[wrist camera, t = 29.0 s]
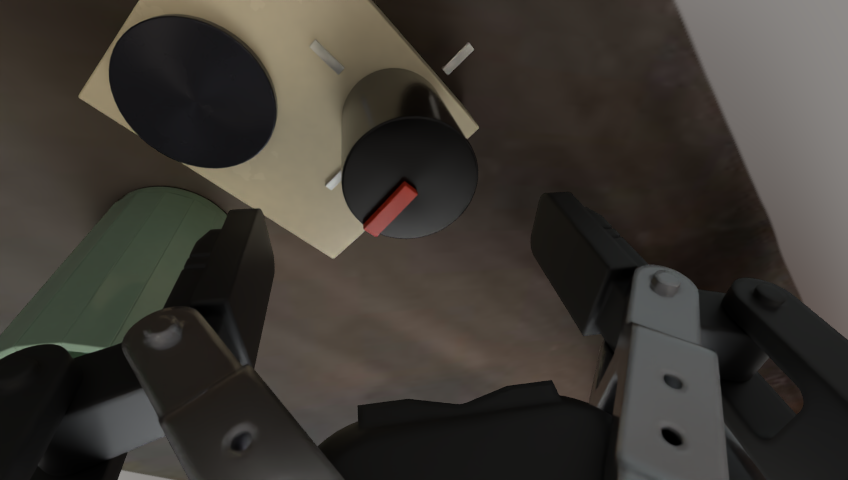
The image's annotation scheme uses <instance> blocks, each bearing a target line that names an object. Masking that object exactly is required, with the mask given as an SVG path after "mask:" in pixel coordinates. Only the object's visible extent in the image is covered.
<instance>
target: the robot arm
mask: <svg viewBox="0 0 848 480" xmlns="http://www.w3.org/2000/svg"><path fill="white" fill-rule="evenodd" d="M531 249H532V253H533V255H534V257H535V258H536V260H537V262H538V263H539V265H540V267H541V268H542V270H543V271H544V273H545V275H546V276H547V278H548V279H549V281H550V283H551V284H552V286H553V288H554V289H555V291H556V292H557V294H558V296H559V297H560V299H561V301H562V302H563V304H564V305H565V307H566V309H567V310H568V312H569V313H570V315H571V317H572V318H573V320H574V322H575V323H576V325H577V326H578V328H579V330H580V331H581V333H582V334H583V336H587V335H596V334H601V335H602V336H603V338H604V340H603V343H602V345H601V347H600V352H599V357H598V361H597V366H596V371H595V376H594V381H593V385H592V390H591V395H590V399H589V403H586V402H583V401H580V400H577V399H574V398H570V397H566V396H560V395H559V394H558V392H557V390H556V388H555V386H554V384H553V382H552V380H550V381H542V382H534V383H527V384H519V385H511V386H506V387H503V388H501V389H499V390H496V391H494V392H491V393H489V394H486V395H484V396H482V397H479V398H477V399H474V400H472V401H470V402H467V403H464V404H450V403H441V402H431V401H422V400H413V399H404V400H396V401H389V402H381V403H373V404H366V405H358V422H355V423H353V424H351V425H348V426H346V427H345V428H343V429H341V430H339V431H337V432H336V433H334V434H333V435H331V436H330V437H328V438H327V439H326V440H324V441H323V442H322V443H321V444H320V445H319V446H317V445H316V444H315V443H314V442H313V440H312V439H311V438H310V437H309V436H308V434H307V433H306V432H305V431H304V430H303V428H302V427H301V426H300V425H299V423H298V422H297V421H296V420H295V419H294V417H293V416H292V415H291V414H290V412H289V411H288V410H287V409H286V408H285V406H284V405H283V404H282V403H281V401H280V400H279V399H278V398H277V397H276V395H275V394H274V393H273V392H272V390H271V389H270V388H269V387H268V386H267V384H266V383H265V382H264V381H263V380H262V378H261V377H260V376H259V375H258V373H257V372H256V371H255V370H254V367H255V362H256V358H257V353H258V348H259V343H260V339H261V334H262V329H263V325H264V320H265V315H266V311H267V306H268V301H269V296H270V292H271V287H272V282H273V278H274V256H273V251H272V247H271V243H270V239H269V235H268V231H267V226H266V222H265V218H264V215H263V212H262V210H261V209H260V208H254V209H236V210H230V211H229V213H228V215H227V217H226V219H225V222H224V224H223V226H222V229H211V230H209V231H208V232H207V233H206V234H205V235H204V236H202V237H201V238H200V239H199V240H198V241H196V243H195V245H194V247H193V249H192V251H191V253H190V255H189V256H190V258H188V259H187V261H186V263H185V265H184V269H182V271H181V273H180V275H179V277H178V279H177V281H176V283H175V285H174V287H173V289H172V291H171V293H170V295H169V297H168V299H167V301H166V303H165V305H164V307H163V309H161V310H158V311H155V312H153V313H151V314H149V315H147V316H145V317H144V318H142V319H141V320H139V321H138V322H137V323H135V324H134V325H133V326H132V327H131V328H130V329H129V330H128V332H127V333H126V334H125V336H124V338H123V341H122V343H119V344H116V345H114V346H111V347H107V348H104V349H101V350H98V351H95V352H91V353H88V354H85V355H82V356H79V357H76V358H72V356H71V355H70V354H69V352H68V351H67V350H66V349H65V348H64V347H62V346H59V345H55V344H42V345H36V346H31V347H28V348H24V349H21V350H19V351H16V352H14V353H12V354H9V355H7V356H5V357H4V358H2V359H0V480H118V477H119V474H120V472H121V469H122V466H123V463H124V461H125V458H126V455H127V452H128V451H131V450H133V449H135V448H138V447H140V446H143V445H145V444H148V443H150V442H152V441H155V440H157V439H160V438H162V437H165V436H166V437H167V439H168V441H169V443H170V445H171V447H172V449H173V450H174V452H175V454H176V456H177V458H178V460H179V462H180V464H181V465H182V467H183V469H184V471H185V473H186V475H187V477H188V478H189V480H848V340H847V339H846V338H845V337H843V336H842V335H841V334H840V333H838V332H837V331H836V330H835V329H834V328H832V327H831V326H830V325H829V324H828V323H827V322H825V321H824V320H823V319H822V318H820V317H819V316H818V315H817V314H816V313H814V312H813V311H812V310H811V309H810V308H808V307H807V306H806V305H805V304H803V303H802V302H801V301H800V300H799V299H797V298H796V297H795V296H794V295H792V294H791V293H790V292H788V291H786V290H785V289H783V288H781V287H779V286H777V285H775V284H772V283H770V282H767V281H764V280H760V279H755V278H740V279H737V280H735V281H734V282H733V284H732V285H731V287H730V288H729V290H728V291H727V293H720V292H713V291H706V290H699V289H697V287H696V286H695V285H694V283H693V282H692V281H691V280H690V279H688V278H687V277H686V276H684V275H683V274H681V273H679V272H677V271H675V270H673V269H670V268H667V267H663V266H658V265H649V264H648V263H647V262H646V261H645V260H644V259H643V258H642V257H641V256H640V255H639V254H638V253H637V252H636V251H635V250H634V249H633V248H632V247H631V246H630V245H629V244H628V243H627V242H626V241H625V240H624V238H623V237H620V234H619V233H618V232H617V231H616V230H615V229H612V226H611V225H610V224H609V223H608V222H607V221H606V220H605V219H604V218H603V217H602V216H601V215H599V214H598V213H596V212H594V211H592V210H591V209H589V208H587V207H584V206H583V205H582V204H581V203H580V202H579V201H578V200H577V199H576V198H575V197H574V196H573V194H572V193H570V192H555V193H544V194H543V195H542V196H541V197H540V200H539V204H538V208H537V213H536V217H535V221H534V225H533V230H532V234H531ZM769 357H770V358H771V359H772V360H773V361H774V362H775V364H776V365H777V366H778V367H779V368H780V369H781V370H782V371H783V372H784V373H785V374H786V375H787V376H788V377H789V378H790V379H791V380H792V381H793V382H794V383H795V384H796V385H797V387H798V388H799V389H800V391H801V393H802V396H803V400H804V405H803V408H802V410H801V411H800V412H799V413H798V414H797V415H796V414H795V413H794V411H793V410H792V409H791V408H790V407H789V406H788V405H787V404H786V403H785V402H784V400H783V399H782V398H781V397H780V396H779V395H778V394H777V393H776V392H775V390H774V389H773V388H772V387H771V386H770V385H769V384H768V383H767V382H766V381H765V379H764V378H763V377H762V376H761V375H760V374H759V373H758V372H757V371H758V370H759V368H760V367H761V366H762V365H763V364H764V363H765V361H766V360H767V359H768V358H769Z"/></svg>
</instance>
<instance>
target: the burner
mask: <svg viewBox="0 0 848 480" xmlns="http://www.w3.org/2000/svg"><path fill="white" fill-rule="evenodd" d="M109 83H110V88H111V92H112V95H113V98H114V101H115V103H116V105H117V107H118V109H119V111H120V113H121V114H122V116H123V118H124V119H125V121H126V122H127V123H128V124H129V126H130V127H131V128H132V129H133V131H134V132H135V133H136V134H137V135H138V136H139V137H140V138H141V139H143V140H144V141H145V142H146V143H147V144H149V145H150V146H151V147H153V148H154V149H156V150H157V151H158V152H160V153H162V154H164V155H165V156H167V157H169V158H172V159H174V160H176V161H178V162H181V163H184V164H187V165H191V166H195V167H201V168H213V169H218V168H228V167H232V166H236V165H239V164H242V163H244V162H246V161H248V160H250V159H252V158H253V157H255V156H256V155H258V154H259V153H260V152H261V151H262V150H263V149H264V147H265V146H266V145H267V143H268V142H269V140H270V138H271V136H272V134H273V131H274V128H275V125H276V121H277V116H278V103H277V96H276V92H275V88H274V85H273V82H272V80H271V77H270V75H269V73H268V71H267V69H266V68H265V66H264V65H263V63H262V62H261V60H260V59H259V58H258V56H257V55H256V54H255V53H254V52H253V50H252V49H251V48H250V47H249V46H248V45H247V44H246V43H244V42H243V41H242V40H241V39H240V38H238V37H237V36H236V35H235V34H233V33H232V32H230V31H228V30H227V29H225V28H224V27H222V26H219V25H217V24H215V23H213V22H211V21H208V20H205V19H202V18H199V17H195V16H190V15H183V14H164V15H159V16H154V17H151V18H149V19H146V20H143V21H141V22H139V23H137V24H135V25H134V26H132V27H130V28H129V29H128V30H127V31H126V32H125V33H124V34H123V35H122V36H121V37H120V38H119V40H118V41H117V43H116V45H115V47H114V49H113V51H112V54H111V57H110V62H109Z"/></svg>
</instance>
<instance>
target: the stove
mask: <svg viewBox="0 0 848 480" xmlns="http://www.w3.org/2000/svg"><path fill="white" fill-rule="evenodd" d="M164 14H183V15H190V16H195V17H199V18H202V19H205V20H208V21H211V22H213V23H215V24H217V25H219V26H222V27H224V28H225V29H227V30H228V31H230V32H232V33H233V34H235V35H236V36H237V37H238V38H240V39H241V40H242V41H243V42H244V43H246V44H247V45H248V46H249V47H250V48H251V49H252V50H253V52H254V53H255V54H256V55H257V56H258V58H259V59H260V60H261V62H262V63H263V65H264V66H265V68H266V69H267V71H268V73H269V75H270V77H271V80H272V82H273V85H274V88H275V92H276V96H277V103H278V116H277V121H276V125H275V128H274V131H273V134H272V136H271V138H270V140H269V142H268V143H267V145H266V146H265V147H264V149H263V150H262V151H261V152H260V153H259V154H258V155H256V156H255V157H253V158H252V159H250V160H248V161H246V162H244V163H242V164H239V165H236V166H232V167H228V168H218V169H213V168H201V167H195V166H191V165H187V164H184V163H182V164H184V165H186V166H187V167H189V168H190V169H192V170H193V171H195V172H197V173H198V174H200V175H201V176H203V177H205V178H206V179H208V180H209V181H211V182H212V183H214V184H216V185H217V186H219V187H220V188H222V189H223V190H225V191H227V192H228V193H230V194H231V195H233V196H235V197H236V198H238V199H239V200H241V201H242V202H244V203H246V204H247V205H249V206H250V207H252V208H253V209H254V208H260V209H261V210H262V212H263V215H265V216H266V217H268V218H269V219H271V220H272V221H274V222H276V223H277V224H279V225H280V226H282V227H283V228H285V229H287V230H288V231H290V232H291V233H293V234H294V235H296V236H298V237H299V238H301V239H302V240H304V241H306V242H307V243H309V244H310V245H312V246H313V247H315V248H317V249H318V250H320V251H321V252H323V253H324V254H326V255H328V256H329V257H331V258H332V259H334V258H336V257H337V256H338V255H339V254H340V253H341V252H342V251H343V250H344V249H346V248H347V247H348V246H349V245H350V244H351V243H352V242H353V241H354V240H356V239H357V238H358V237H359V236H360V235H361V234H362V233H363V232H364V231H365V230H364V229H363V224H362V223H361V222H360V221H359V220H358V219H356V217H355V216H354V215H353V214H352V212H351V211H350V209H349V208H348V206H347V204H346V201H345V199H344V196H343V192H342V183H341V139H342V110H343V106H344V103H345V100H346V98H347V96H348V94H349V92H350V91H351V89H352V88H353V87H354V86H355V85H356V84H357V83H358V82H359V81H360V80H361V79H362V78H364V77H365V76H367V75H369V74H371V73H373V72H375V71H378V70H382V69H387V68H400V69H406V70H410V71H413V72H415V73H417V74H419V75H421V76H422V77H424V78H425V79H426V80H427V81H429V82H430V83H431V84H432V85H433V87H434V88H435V89H436V91H437V92H438V94H439V95H440V97H441V99H442V100H443V102H444V103H445V105H446V107H447V108H448V110H449V111H450V113H451V114H452V116H453V118H454V119H455V121H456V122H457V124H458V126H459V127H460V129H461V130H462V132H463V134H464V135H465V137H466V138H467V139H468V138H469V137H470V136H471V135H472V134H473V133H474V132H475V131H476V130H478V129H479V126H478V125H477V123H476V122H475V121H474V119H473V118H472V117H471V115H470V114H469V112H468V111H467V110H466V108H465V107H464V106H463V104H462V103H461V102H460V101H459V100H458V99H457V98H456V96H455V95H454V94H453V93H452V92H451V91H450V89H449V88H448V87H447V86H446V85H445V84H444V83H443V81H442V80H441V79H440V78H439V77H438V76H437V74H436V73H435V72H434V71H433V70H432V69H431V68H430V66H429V65H428V64H427V63H426V62H425V61H424V59H423V58H422V57H421V56H420V55H419V54H418V53H417V51H416V50H415V49H414V48H413V47H412V46H411V44H410V43H409V42H408V41H407V40H406V39H405V38H404V36H403V35H402V34H401V33H400V32H399V31H398V29H397V28H396V27H395V26H394V25H393V24H392V23H391V21H390V20H389V19H388V18H387V17H386V16H385V14H384V13H383V12H382V11H381V10H380V9H379V8H378V6H377V5H376V4H375V3H374V2H373V1H372V0H139V1H138V2H137V4H136V6H135V7H134V9H133V10H132V12H131V13H130V15H129V17H128V18H127V20H126V21H125V23H124V24H123V26H122V28H121V29H120V31H119V32H118V34H117V35H116V37H115V39H114V40H113V42H112V43H111V45H110V46H109V48H108V50H107V51H106V53H105V54H104V56H103V58H102V59H101V61H100V62H99V64H98V65H97V67H96V69H95V70H94V72H93V73H92V75H91V76H90V78H89V80H88V81H87V83H86V84H85V86H84V87H83V89H82V91H81V92H80V94H79V95H78V97H79V98H80V99H81V100H83V101H85V102H86V103H88V104H89V105H91V106H92V107H94V108H96V109H97V110H99V111H100V112H102V113H103V114H105V115H107V116H108V117H110V118H111V119H113V120H115V121H116V122H118V123H119V124H121V125H122V126H124V127H126V128H127V129H129V130H130V131H132V132H133V133H135V132H134V131H133V129H132V128H131V127H130V126H129V124H128V123H127V122H126V121H125V119H124V118H123V116H122V114H121V113H120V111H119V109H118V107H117V105H116V103H115V101H114V98H113V95H112V92H111V88H110V83H109V62H110V57H111V54H112V51H113V49H114V47H115V45H116V43H117V41H118V40H119V38H120V37H121V36H122V35H123V34H124V33H125V32H126V31H127V30H128V29H129V28H130V27H132V26H134V25H135V24H137V23H139V22H141V21H143V20H146V19H149V18H151V17H154V16H159V15H164ZM473 50H474V48H473V47H472V46H471V45H470V43H469V42H467V43H466V44H465V45H464V46H463V47H462V48H461V49H460V50H459V51H458V52H457V53H456V54H455V55H454V56H453V57H452V58H451V59H450V60H449V61H448V62H447V63H446V64H445V65H444V66H443V67H442V69H443V71H444V72H445V73H446V74H447V75H449V74H450V73H451V72H452V71H453V70H454V69H455V68H456V67H457V66H458V65H459V64H460V63H461V62H462V61H463V60H464V59H465V58H466V57H467V56H468V55H469V54H470V53H471V52H472V51H473ZM135 134H136V133H135Z"/></svg>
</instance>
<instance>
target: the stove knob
mask: <svg viewBox="0 0 848 480" xmlns="http://www.w3.org/2000/svg"><path fill="white" fill-rule="evenodd" d="M477 181H478V165H477V159H476V156H475V153H474V151H473V149H472V147H471V145H470V143H469V142H468V140H467V138H466V137H465V135H464V134H463V132H462V130H461V129H460V127H459V126H458V124H457V122H456V121H455V119H454V118H453V116H452V114H451V113H450V111H449V110H448V108H447V107H446V105H445V103H444V102H443V100H442V99H441V97H440V95H439V94H438V92H437V91H436V89H435V88H434V87H433V85H432V84H431V83H430V82H429V81H427V80H426V79H425V78H424V77H422V76H421V75H419V74H417V73H415V72H413V71H410V70H406V69H400V68H387V69H382V70H378V71H375V72H373V73H371V74H369V75H367V76H365V77H364V78H362V79H361V80H360V81H359V82H358V83H357V84H356V85H355V86H354V87H353V88H352V89H351V91H350V92H349V94H348V96H347V98H346V100H345V103H344V106H343V110H342V139H341V183H342V192H343V196H344V199H345V201H346V204H347V206H348V208H349V209H350V211H351V212H352V214H353V215H354V216H355V217H356V219H358V220H359V221H360V222H361V223H362V224H363V229H364V230H365V231H367V232H368V233H370V234H372V235H373V236H375V237H377V236H378V235H379V234H381V235H384V236H388V237H392V238H399V239H411V238H419V237H424V236H427V235H431V234H433V233H436V232H438V231H440V230H442V229H444V228H445V227H447V226H448V225H450V224H451V223H453V222H454V221H455V220H456V219H457V218H458V217H459V216H460V215H461V214H462V213H463V212H464V211H465V209H466V208H467V207H468V205H469V203H470V202H471V200H472V198H473V195H474V193H475V190H476V186H477Z"/></svg>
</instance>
